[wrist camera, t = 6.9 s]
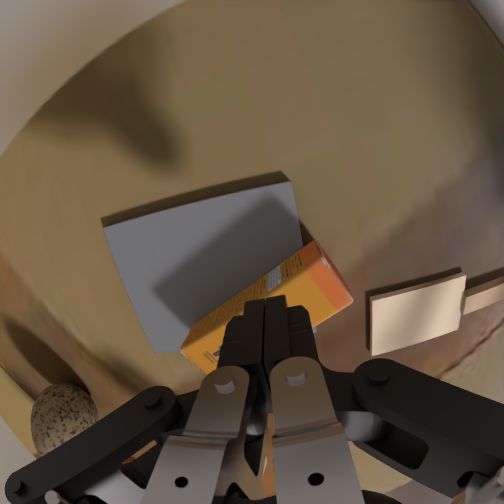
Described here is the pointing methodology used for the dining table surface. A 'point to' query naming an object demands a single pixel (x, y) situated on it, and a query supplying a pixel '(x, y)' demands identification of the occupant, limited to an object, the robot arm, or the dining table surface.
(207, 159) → the dining table surface
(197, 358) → the supplement box
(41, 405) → the decorative egg
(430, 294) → the turner
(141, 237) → the mat
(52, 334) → the dining table surface
